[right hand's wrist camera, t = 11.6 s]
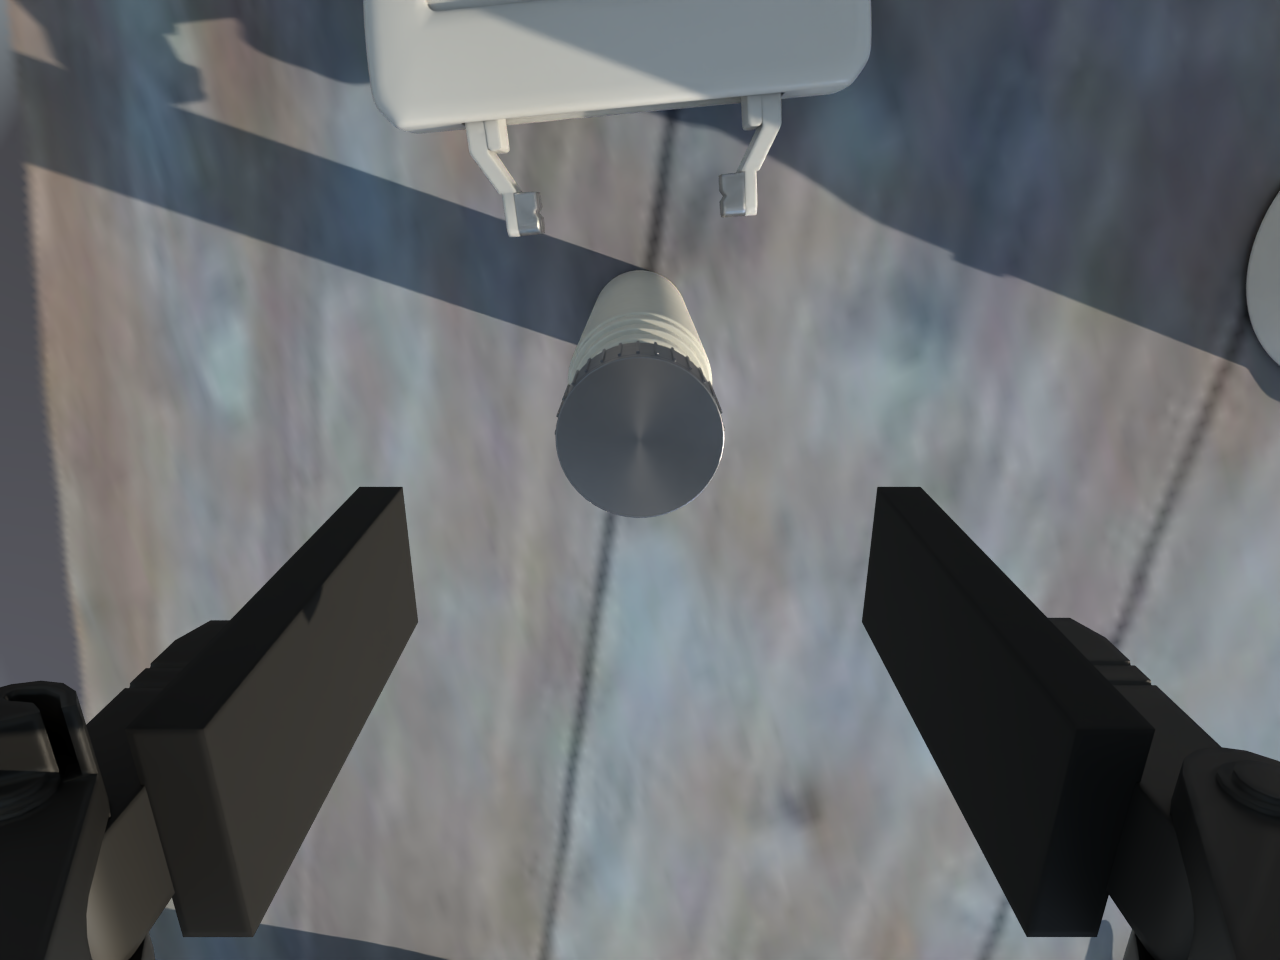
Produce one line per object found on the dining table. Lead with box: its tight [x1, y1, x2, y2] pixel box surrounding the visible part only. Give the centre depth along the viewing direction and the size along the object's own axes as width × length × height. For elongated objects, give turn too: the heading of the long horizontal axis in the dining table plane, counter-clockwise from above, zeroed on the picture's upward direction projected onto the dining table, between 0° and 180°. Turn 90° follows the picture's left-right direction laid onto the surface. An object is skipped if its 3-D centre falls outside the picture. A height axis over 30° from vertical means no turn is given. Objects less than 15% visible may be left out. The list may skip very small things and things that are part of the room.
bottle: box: [568, 270, 712, 385], centre depth 31 cm, size 5×5×22 cm
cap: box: [555, 341, 725, 518], centre depth 21 cm, size 5×5×2 cm
